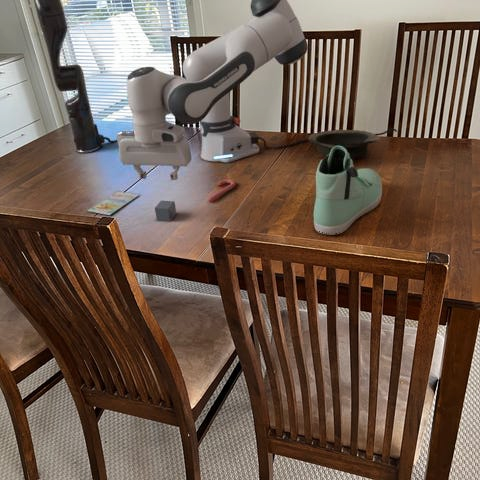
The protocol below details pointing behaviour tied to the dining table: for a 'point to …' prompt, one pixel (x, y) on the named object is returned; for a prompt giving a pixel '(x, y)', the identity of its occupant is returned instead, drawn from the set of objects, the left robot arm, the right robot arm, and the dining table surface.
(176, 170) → the right robot arm
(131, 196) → the baking ingredient package
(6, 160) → the dining table surface
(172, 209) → the block
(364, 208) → the sneaker
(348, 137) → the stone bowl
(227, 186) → the candy cane
